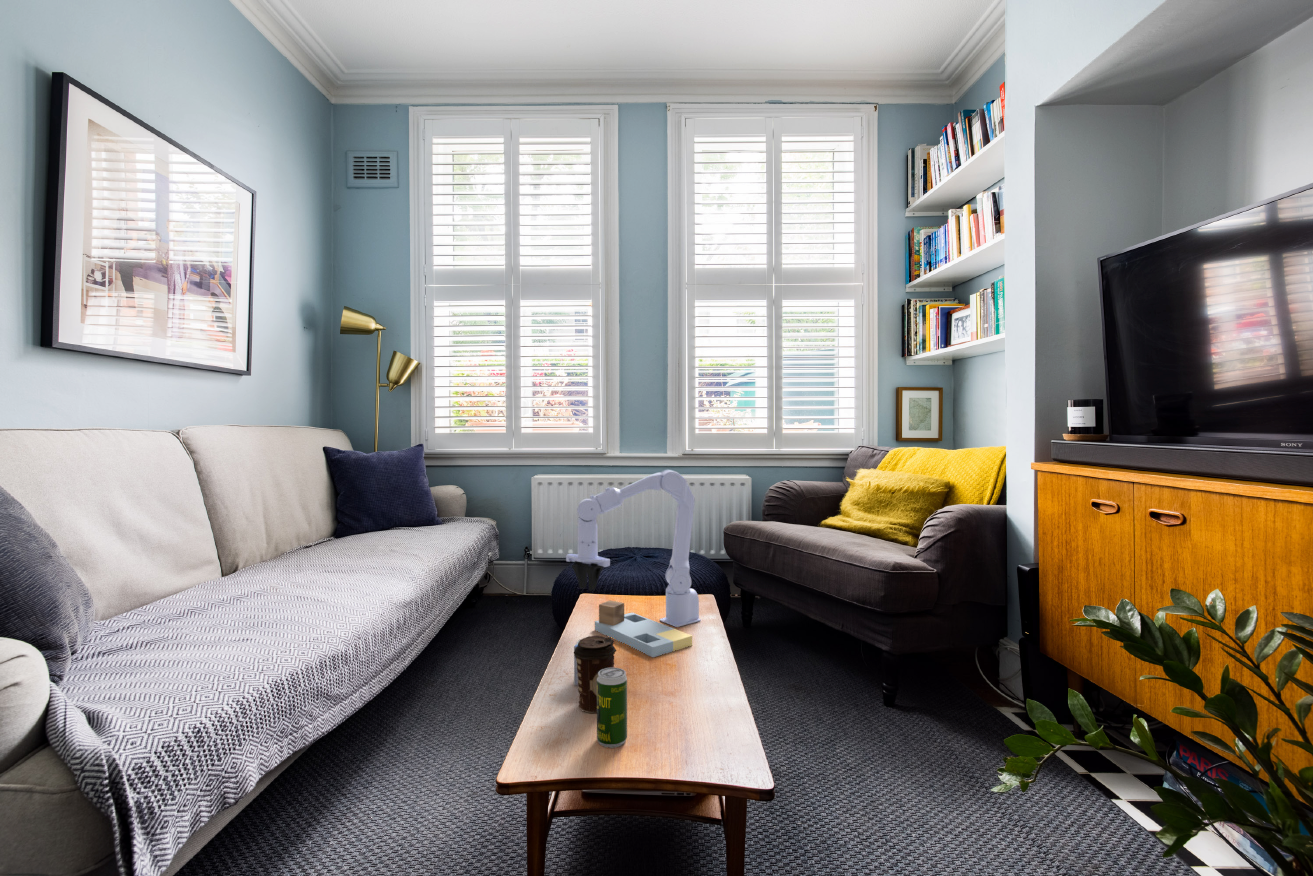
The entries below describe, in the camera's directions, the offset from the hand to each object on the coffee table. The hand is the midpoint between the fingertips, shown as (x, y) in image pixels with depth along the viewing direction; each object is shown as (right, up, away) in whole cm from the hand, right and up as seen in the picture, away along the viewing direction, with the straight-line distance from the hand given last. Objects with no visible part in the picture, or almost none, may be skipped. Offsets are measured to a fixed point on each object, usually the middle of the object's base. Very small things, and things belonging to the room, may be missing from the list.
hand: (587, 589), depth 167 cm
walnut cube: (+7, -8, -5) cm, 12 cm away
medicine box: (+6, -11, -39) cm, 40 cm away
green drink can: (+12, -11, -63) cm, 65 cm away
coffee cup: (+7, -11, -50) cm, 52 cm away
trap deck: (+16, -10, -10) cm, 21 cm away
